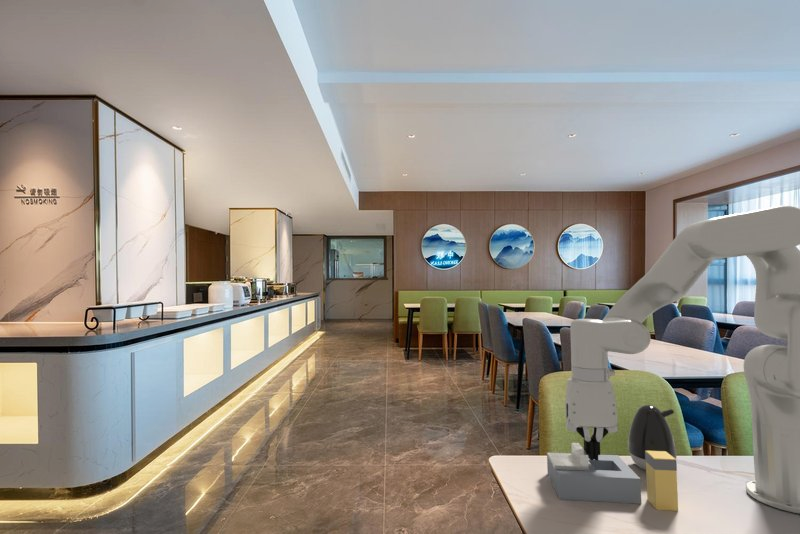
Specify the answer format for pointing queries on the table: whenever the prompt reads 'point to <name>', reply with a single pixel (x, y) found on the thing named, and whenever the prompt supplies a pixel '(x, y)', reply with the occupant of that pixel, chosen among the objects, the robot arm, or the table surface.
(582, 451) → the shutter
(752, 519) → the table surface
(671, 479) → the plug
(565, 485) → the socket board
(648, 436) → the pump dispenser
